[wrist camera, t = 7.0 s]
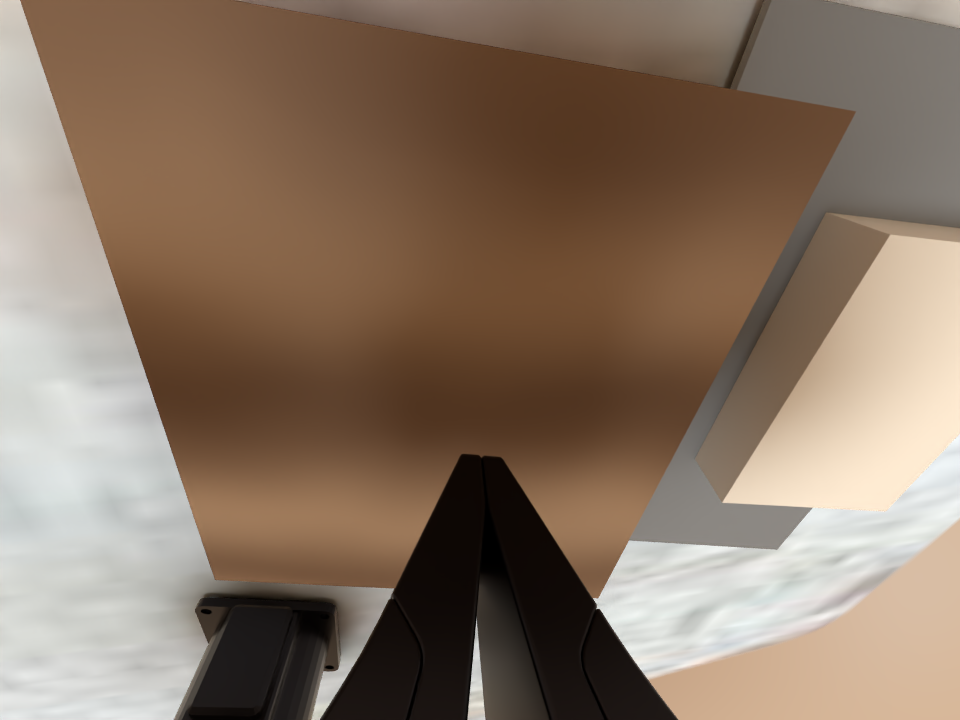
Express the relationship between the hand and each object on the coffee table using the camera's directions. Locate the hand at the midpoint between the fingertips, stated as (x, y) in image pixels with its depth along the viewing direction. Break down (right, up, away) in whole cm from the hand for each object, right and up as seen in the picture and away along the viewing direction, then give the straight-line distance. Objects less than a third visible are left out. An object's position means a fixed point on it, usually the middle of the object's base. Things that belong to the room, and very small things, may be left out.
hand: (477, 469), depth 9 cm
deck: (-1, +3, +4) cm, 5 cm away
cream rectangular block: (+12, +1, +3) cm, 12 cm away
